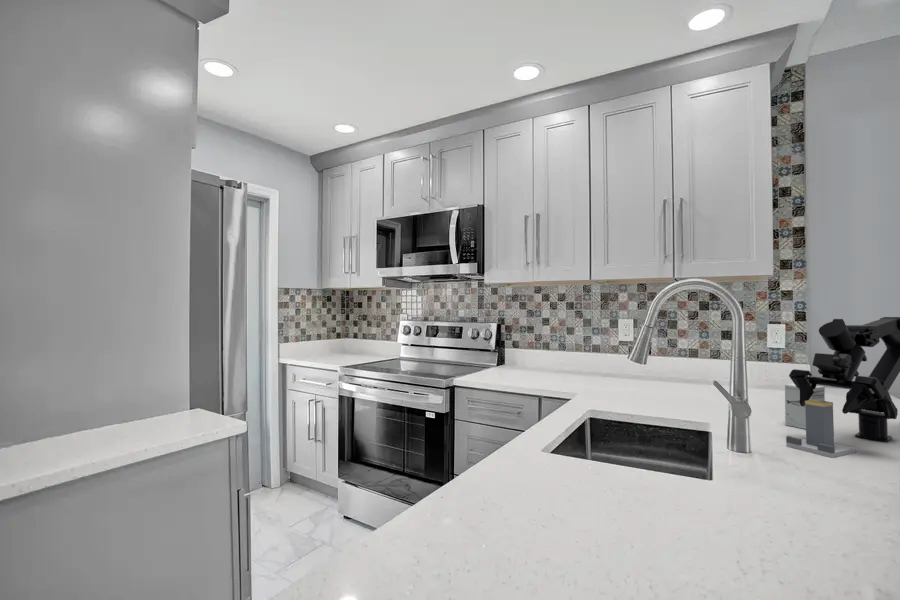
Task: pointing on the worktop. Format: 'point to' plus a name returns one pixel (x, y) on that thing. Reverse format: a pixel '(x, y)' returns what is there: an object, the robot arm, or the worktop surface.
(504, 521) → the worktop surface
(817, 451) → the pad
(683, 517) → the worktop surface
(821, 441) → the grey block
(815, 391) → the supplement box
